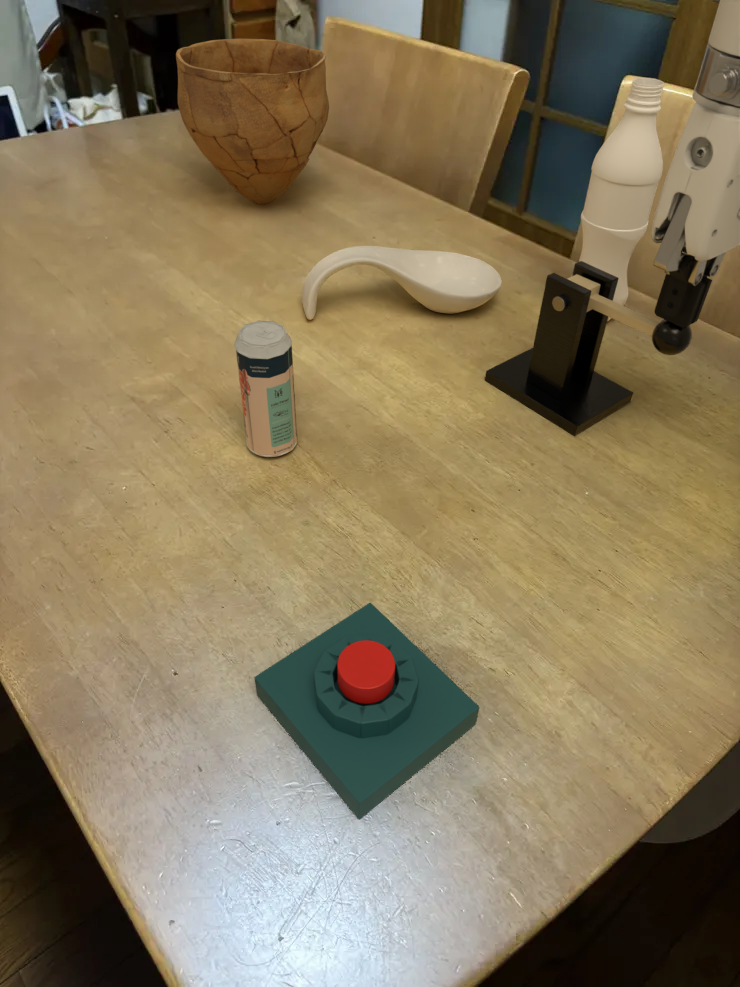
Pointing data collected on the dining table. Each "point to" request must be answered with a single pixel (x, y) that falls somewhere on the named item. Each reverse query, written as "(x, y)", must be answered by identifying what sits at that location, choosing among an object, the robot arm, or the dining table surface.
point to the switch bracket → (565, 357)
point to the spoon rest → (414, 276)
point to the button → (366, 672)
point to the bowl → (253, 109)
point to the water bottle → (623, 186)
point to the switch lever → (638, 320)
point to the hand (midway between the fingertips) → (674, 318)
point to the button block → (366, 711)
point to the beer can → (267, 388)
